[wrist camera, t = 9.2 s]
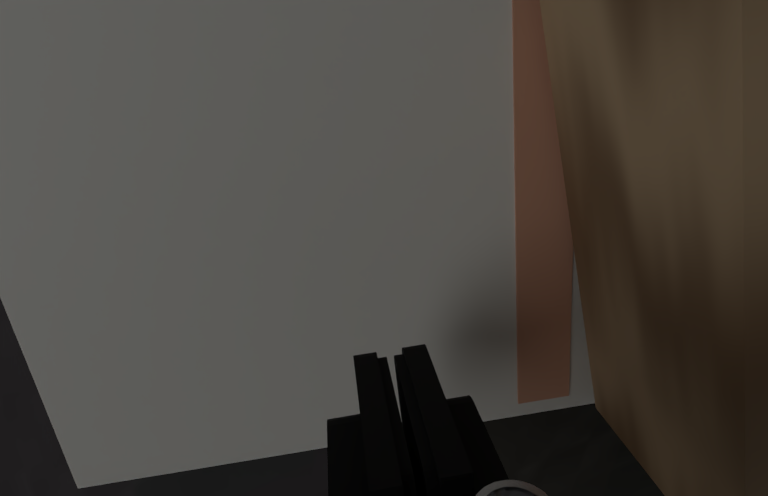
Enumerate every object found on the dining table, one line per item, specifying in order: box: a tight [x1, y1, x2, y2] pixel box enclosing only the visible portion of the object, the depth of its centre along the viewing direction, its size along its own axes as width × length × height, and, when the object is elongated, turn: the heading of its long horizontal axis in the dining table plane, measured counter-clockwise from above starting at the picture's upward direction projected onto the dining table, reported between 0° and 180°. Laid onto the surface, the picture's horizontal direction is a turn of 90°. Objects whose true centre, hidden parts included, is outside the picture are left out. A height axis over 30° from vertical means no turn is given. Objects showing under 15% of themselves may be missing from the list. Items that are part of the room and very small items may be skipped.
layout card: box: [0, 0, 595, 488], centre depth 13 cm, size 28×19×1 cm
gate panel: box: [539, 0, 768, 496], centre depth 11 cm, size 12×1×6 cm, turn 15°
